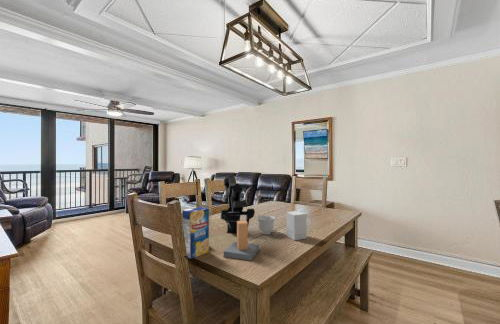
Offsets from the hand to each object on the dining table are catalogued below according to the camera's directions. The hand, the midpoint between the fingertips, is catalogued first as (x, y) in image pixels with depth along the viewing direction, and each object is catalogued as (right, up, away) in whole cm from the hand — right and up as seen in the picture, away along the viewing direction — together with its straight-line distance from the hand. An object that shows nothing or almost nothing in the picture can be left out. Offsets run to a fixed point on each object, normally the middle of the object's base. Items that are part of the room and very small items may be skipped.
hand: (239, 227), depth 123 cm
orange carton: (+2, -8, -8) cm, 11 cm away
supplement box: (+34, -11, +16) cm, 39 cm away
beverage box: (-21, -11, -9) cm, 25 cm away
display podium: (+2, -11, -8) cm, 13 cm away
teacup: (+16, -11, +26) cm, 32 cm away
